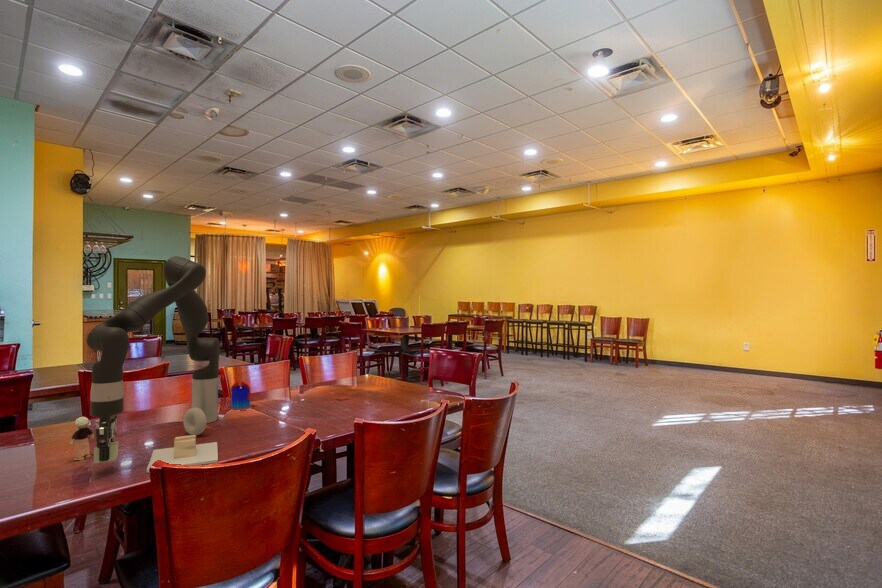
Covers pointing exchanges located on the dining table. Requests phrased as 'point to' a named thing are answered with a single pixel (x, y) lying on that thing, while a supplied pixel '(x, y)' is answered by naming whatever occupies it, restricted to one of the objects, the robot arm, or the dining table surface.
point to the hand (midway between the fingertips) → (106, 457)
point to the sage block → (112, 452)
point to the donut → (189, 421)
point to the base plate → (202, 456)
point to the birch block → (184, 446)
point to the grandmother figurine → (81, 439)
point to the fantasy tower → (240, 397)
